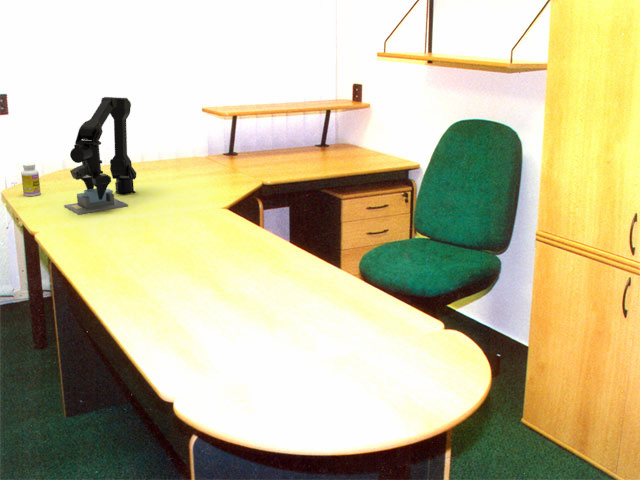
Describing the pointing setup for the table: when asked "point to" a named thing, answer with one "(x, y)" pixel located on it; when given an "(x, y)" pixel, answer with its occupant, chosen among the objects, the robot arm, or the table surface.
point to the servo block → (94, 195)
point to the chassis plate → (95, 205)
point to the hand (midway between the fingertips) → (95, 197)
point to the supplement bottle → (30, 180)
